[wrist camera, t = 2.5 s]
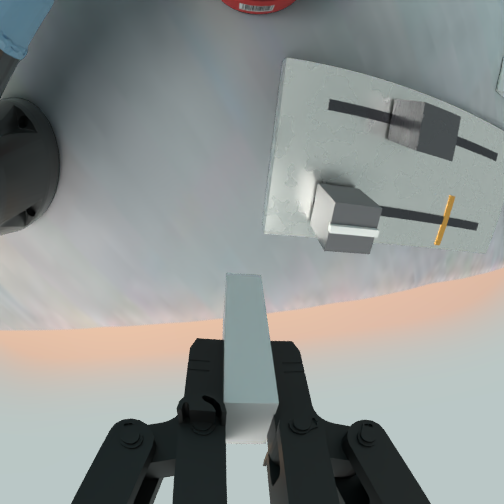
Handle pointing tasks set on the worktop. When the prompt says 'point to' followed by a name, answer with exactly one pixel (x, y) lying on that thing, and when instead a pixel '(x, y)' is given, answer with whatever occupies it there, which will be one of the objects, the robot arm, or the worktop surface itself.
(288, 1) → the canned food
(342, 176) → the console
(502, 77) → the skincare box
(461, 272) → the worktop surface
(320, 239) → the fader
